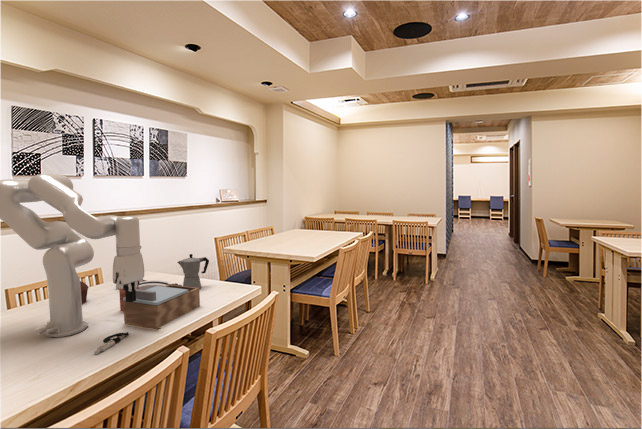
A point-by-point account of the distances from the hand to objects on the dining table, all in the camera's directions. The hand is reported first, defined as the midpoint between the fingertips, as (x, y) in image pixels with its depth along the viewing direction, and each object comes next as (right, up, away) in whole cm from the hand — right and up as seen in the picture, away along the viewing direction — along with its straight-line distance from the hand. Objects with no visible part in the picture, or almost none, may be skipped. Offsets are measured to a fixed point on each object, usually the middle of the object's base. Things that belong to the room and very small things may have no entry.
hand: (130, 300), depth 128 cm
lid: (+4, -1, +12) cm, 13 cm away
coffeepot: (+4, -7, +53) cm, 54 cm away
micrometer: (-3, -13, -9) cm, 16 cm away
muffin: (-42, -9, +31) cm, 53 cm away
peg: (-11, -10, +21) cm, 26 cm away
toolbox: (+5, -10, +16) cm, 20 cm away
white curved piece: (-10, -8, +37) cm, 40 cm away
